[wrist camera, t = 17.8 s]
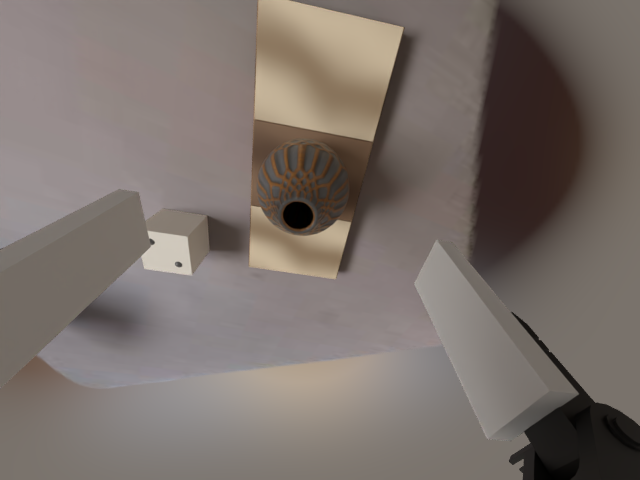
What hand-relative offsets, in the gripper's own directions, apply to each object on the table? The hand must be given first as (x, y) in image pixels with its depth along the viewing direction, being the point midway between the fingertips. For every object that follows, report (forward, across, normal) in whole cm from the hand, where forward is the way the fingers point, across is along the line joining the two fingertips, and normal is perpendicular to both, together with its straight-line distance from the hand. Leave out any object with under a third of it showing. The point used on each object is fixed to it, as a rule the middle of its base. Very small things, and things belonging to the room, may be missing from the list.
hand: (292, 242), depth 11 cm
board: (+14, 0, -1) cm, 14 cm away
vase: (+12, 0, -1) cm, 12 cm away
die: (+14, -12, -9) cm, 20 cm away
